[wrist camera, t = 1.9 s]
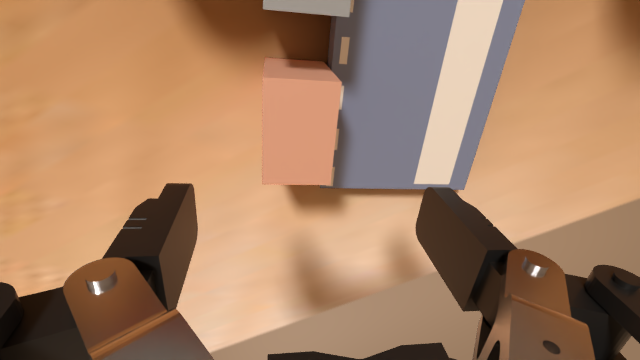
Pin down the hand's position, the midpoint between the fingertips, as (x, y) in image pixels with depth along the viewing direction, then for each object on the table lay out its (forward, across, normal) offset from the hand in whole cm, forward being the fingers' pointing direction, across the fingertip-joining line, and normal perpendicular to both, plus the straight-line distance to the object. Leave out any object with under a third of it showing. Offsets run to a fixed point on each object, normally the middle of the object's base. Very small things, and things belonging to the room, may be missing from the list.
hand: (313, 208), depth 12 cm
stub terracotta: (+14, 0, 0) cm, 15 cm away
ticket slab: (+14, -8, -4) cm, 17 cm away
